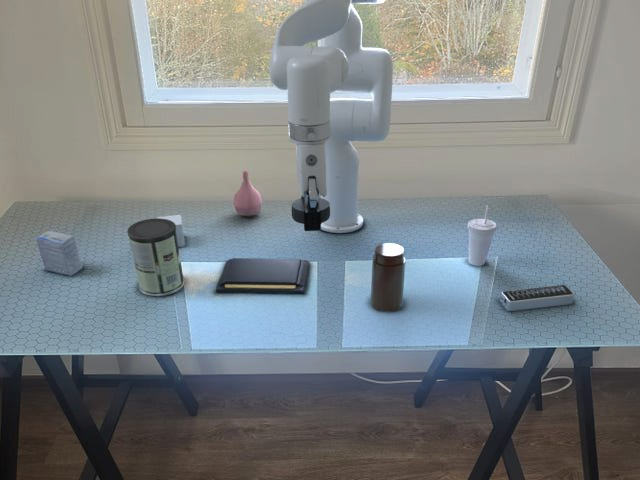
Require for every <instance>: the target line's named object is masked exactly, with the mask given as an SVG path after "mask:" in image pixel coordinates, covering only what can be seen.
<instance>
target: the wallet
mask: <svg viewBox="0 0 640 480" xmlns="http://www.w3.org/2000/svg"><path fill="white" fill-rule="evenodd" d="M309 269H310V262H309V260H308V259H301V258H264V257H263V258H261V257H259V258H258V257H257V258H254V257H253V258H251V257H250V258H249V257H233V258H230V259H228V260H226V261H225V263H224V266H223V270H222V272H221V275H220V278H219V280H218V283H217V286H216V289H215V292H216V293H220V294H221V293H222V294H283V295H284V294H286V295H288V294H289V295H291V294H293V295H304V294H305V289H306V286H307V280H308V274H309Z"/></svg>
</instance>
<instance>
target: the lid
mask: <svg viewBox="0 0 640 480" xmlns="http://www.w3.org/2000/svg"><path fill="white" fill-rule="evenodd" d="M308 201H310V199H308ZM319 202H320V210H321V223H323V222H325V221H327V220H328V219H329V217H330V203H329V202H328V201H327V200H325V199H322V198H321V197H319ZM304 211H305V198H301V197H300V198H298V199H295V200H294V201H293V202H292V203H291V219H292V220H293V221H294V222H296V223H298V224H301V225H304Z"/></svg>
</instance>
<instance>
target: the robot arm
mask: <svg viewBox="0 0 640 480" xmlns="http://www.w3.org/2000/svg"><path fill="white" fill-rule="evenodd" d="M386 1H387V0H306V2H305V3H304V4H302V5H301V6H299V7H298V8H296V9H295V10H294V11H293V12H291V14H290V15H288V16H287V17H286V18H285V19H284V20H283V21H282V22H281V24H280V25H279V26H278V28H277V30H276V33H275V35H274V38H273V43H272V46H271V47H272V48H271V51H270V56H269V57H270V58H269V63H268V64H269V65H268V67H269V68H268V71H269V77H270V81H271V83H272V85H273V86H274V87H275V88H277V89H278V90H281V91H286V92H287V113H288V115H287V116H288V140H289V142H291V143H293V144H295V155H296V156H295V159H296V173H297V181H298V186H299V191H300V196H301V197H300V198H305V211H304V224H303V230H304V231H305V232H320V231H324V232H327V233H332V234H346V233H352V232H355V231H358V230H359V229H361V228H362V227H363V225H364V217H363V216H362V215H361V214H360V213H358V212H359V181H360V180H359V178H360V177H359V176H360V175H359V173H360V156H359V153H358V151H357V149H356V148H355V146H354V145H353V143H352V142H369V143H370V142H371V143H372V142H373V143H374V142H375V143H377V142H383V141H384V140H386V138H388V136H389V132H390V128H391V116H392V115H391V113H392V98H393V97H392V96H393V78H394V75H393V74H394V65H393V58H392V55H391V53H390V52H389V51H388V50H387V49H384V48H380V47H363V45H362V42H363V41H362V40H363V22H362V19H361V17H360V16H359V13H358V11H356V9H355V7H354V6H353V5H354V4H355V5H357V4H358V5H359V4H360V5H361V4H363V5H366V4H368V5H369V4H371V5H374V4H375V5H376V4H377V5H379V4H383V3H385V2H386ZM352 4H353V5H352ZM323 39H324V46H318V45H317V46H316V45H315V46H314V45H309V44H311V43H314V42H317V41H321V40H323ZM334 92H339V93H356V94H357V93H360V94H361V93H362V94H363V93H364V94H369V95H370V96H371V97H372V98H352V97H351V98H350V97H349V98H348V97H347V98H345V97H344V98H343V97H336V98H331V93H334ZM319 198H322V199H325V200H327V201H328V202H329V203H330V217H329V219H328V220H327V221H325V222H323V223H321V210H320V202H319ZM308 199H310V201H308Z"/></svg>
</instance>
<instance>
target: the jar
mask: <svg viewBox="0 0 640 480" xmlns="http://www.w3.org/2000/svg"><path fill="white" fill-rule="evenodd" d="M373 250H374V252H373V253H374V254H373V256H372V260H371V283H370V306H371V307H372V308H373V309H375V310H376V311H380V312H385V313H386V312H388V313H390V312H396V311H398V310H399V309H401V308H402V307H403V302H404V291H405V289H404V288H405V278H406V277H405V275H406V263H407V259H406V257H405V248H404V247H403V246H402V245H401V244H397V243H393V242H385V243H381V244H378V245H376V246H375V248H374V249H373Z"/></svg>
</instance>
